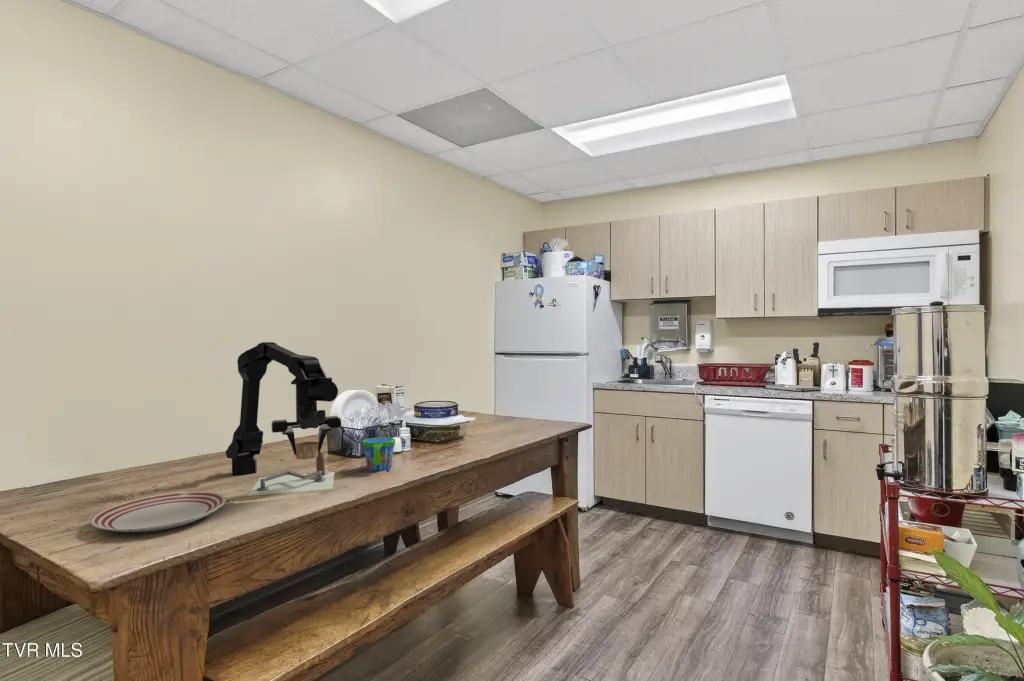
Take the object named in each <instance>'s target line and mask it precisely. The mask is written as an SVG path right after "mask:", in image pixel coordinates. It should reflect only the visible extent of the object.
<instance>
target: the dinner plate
mask: <svg viewBox="0 0 1024 681" xmlns="http://www.w3.org/2000/svg"><path fill="white" fill-rule="evenodd" d="M225 503H226V497H225V496H224V495H223V494H220V493H218V492H213V491H211V492H210V491H183V492H171V493H162V494H156V495H152V496H146V497H142V498H138V499H133V500H130V501H126V502H122V503H120V504H117V505H114V506H110V507H109V508H107V509H106V508H105V509H104V510H102V511H100V512H99V513H97V514H96V515H94V516H93V517H92V518H91V521H90V524H91V526H92V527H94V528H96V529H100V530H104V531H111V532H120V533H129V532H142V533H150V532H149V531H153V532H159V531H158V530H160V531H166V530H171V529H175V528H179V527H183V526H186V525H189V524H191V523H194V522H197V521H199V520H201V519H202V518H205V517H206V516H209V515H211V514H212V513H215V512H216V511H218V510H219V509H220V508H221V507H222V506H223V505H225ZM198 519H199V520H198ZM196 520H197V521H196ZM182 525H183V526H182ZM178 526H179V527H178ZM174 527H175V528H174ZM170 528H171V529H170ZM165 529H166V530H165Z"/></svg>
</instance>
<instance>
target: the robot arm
mask: <svg viewBox="0 0 1024 681" xmlns="http://www.w3.org/2000/svg"><path fill="white" fill-rule="evenodd" d="M272 361H274V362H277V363H278V364H280V365H282V366H285V367H286V368H287V370H288V372H289V374H292V375H293V376H294V377H295V378H294V379H293V380H292V381H291V382H290V384H291V385H295V413H296V414H295V419H296V420H295V421H288V420H287V419H279V420H278V419H277V420H275V419H274V420H272V422H271V432H272V433H274V434H275V433H281V434H282V435H284V436H286V437H287V438H288V440H289V443H290V446H291V449H292V452H293V454H294V455H295V456H296V439H295V432H294V430H293V429H299V428H300V429H302V430H306V429H317V428H318V437H317V442H318V453H320V452H321V451H322V447H323V444H324V440H325V439H326V436H327V434H328V433H329V432H332V429H336V428H337V429H338V428H342V419H341V418H340V417H339V416H338V415H333V416H331V415H330V416H329V415H328V416H326V415H327V414H326V410H325V409H319V410H318V402H328V403H329V402H330V403H331V402H333V401H335V400H336V398H337V397H338V394H339V389H338V385H337V384H336V383H335V382H334V381H333V377H328V376H327V374H326V372H325V370H324V369H323V367H322V365H321V363H320V360H319V359H318V358H317V357H315V356H312V355H303V354H298V353H296V352H293V351H292V350H290V349H287V348H285V347H282V346H280V345H278V343H276V342H273V341H262V342H260V343H258V344H256V346H254V347H251V348H249V349H248V350H244V351H243V352H241V353H240V355H238V357H237V362H236V363H237V372H238V374H239V375H240V378H241V379H242V388H241V403H240V404H241V405H240V415H239V425H238V426H237V428H236V429H235V431H234V432H233V434H232V440H231V442H230V443H229V446H227V449H226V451H225V456H226V458H227V459H230V460H231V474H232V476H246V475H251V474H253V475H254V474H256V473H257V471H258V467H257V466H258V460H257V458H255V457H256V455H260V454H261V449H262V444H264V441H263V437H264V431H263V430H261V429H260V427H259V426H258V417H259V416H258V415H259V414H258V413H259V404H260V403H259V401H260V389H261V380H262V379H263V377H264V376H265V374H267V369H268V365H269V364H270V363H272Z"/></svg>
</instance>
